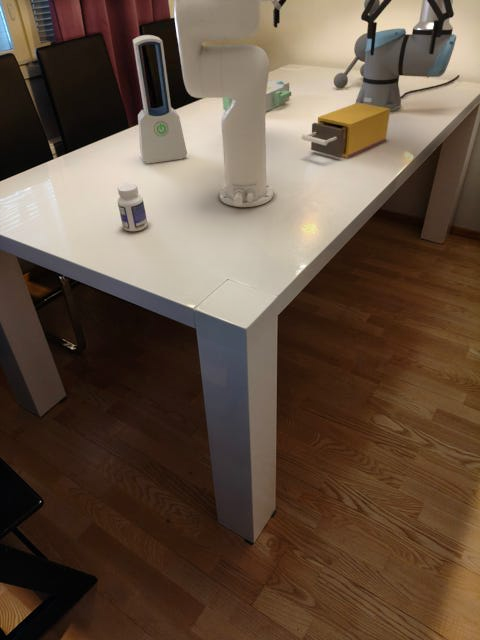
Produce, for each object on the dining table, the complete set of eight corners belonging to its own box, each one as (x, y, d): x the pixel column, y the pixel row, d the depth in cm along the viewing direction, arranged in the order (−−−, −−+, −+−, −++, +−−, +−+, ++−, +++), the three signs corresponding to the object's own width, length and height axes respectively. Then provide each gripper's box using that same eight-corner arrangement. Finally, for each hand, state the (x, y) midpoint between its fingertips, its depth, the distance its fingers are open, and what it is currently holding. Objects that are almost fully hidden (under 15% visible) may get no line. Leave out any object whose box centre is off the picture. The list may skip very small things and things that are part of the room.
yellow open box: (347, 158, 132) (350, 124, 126) (316, 149, 138) (317, 117, 133) (385, 140, 141) (390, 108, 136) (354, 133, 148) (357, 102, 142)
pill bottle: (149, 220, 107) (142, 181, 102) (146, 231, 103) (138, 191, 98) (125, 221, 107) (116, 182, 102) (121, 232, 103) (112, 193, 98)
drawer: (326, 163, 127) (328, 135, 123) (298, 155, 133) (299, 128, 128) (376, 141, 139) (379, 115, 134) (348, 134, 144) (350, 109, 140)
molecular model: (320, 82, 200) (324, -5, 182) (368, 76, 205) (377, -10, 186) (347, 95, 182) (354, 0, 164) (399, 88, 187) (412, -5, 168)
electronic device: (143, 164, 135) (122, 41, 116) (140, 155, 141) (120, 37, 122) (187, 158, 137) (173, 36, 119) (183, 149, 143) (169, 32, 124)
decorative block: (254, 76, 186) (299, 81, 176) (254, 94, 190) (299, 100, 180) (212, 92, 170) (260, 98, 160) (214, 111, 174) (260, 118, 164)
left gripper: (221, -50, 117) (225, 32, 128) (292, -55, 117) (291, 28, 128) (220, -50, 123) (225, 28, 133) (288, -55, 123) (287, 24, 134)
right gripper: (356, -55, 103) (347, 57, 116) (482, -62, 98) (458, 55, 111) (356, -56, 109) (348, 51, 122) (476, -63, 104) (454, 49, 117)
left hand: (257, 28), depth 131 cm, fingers open, 9 cm apart
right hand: (401, 53), depth 116 cm, fingers open, 13 cm apart
